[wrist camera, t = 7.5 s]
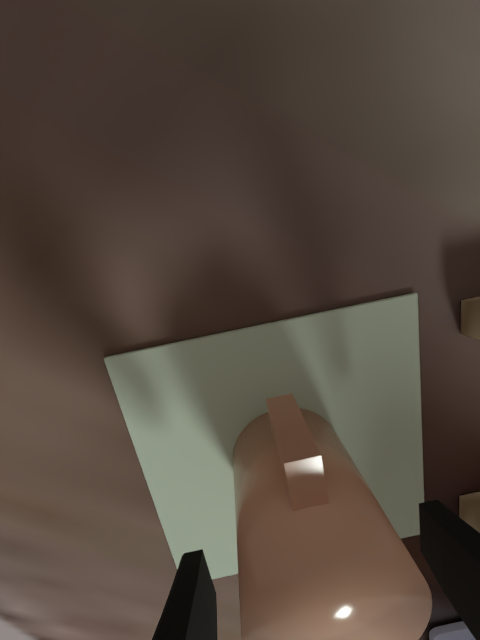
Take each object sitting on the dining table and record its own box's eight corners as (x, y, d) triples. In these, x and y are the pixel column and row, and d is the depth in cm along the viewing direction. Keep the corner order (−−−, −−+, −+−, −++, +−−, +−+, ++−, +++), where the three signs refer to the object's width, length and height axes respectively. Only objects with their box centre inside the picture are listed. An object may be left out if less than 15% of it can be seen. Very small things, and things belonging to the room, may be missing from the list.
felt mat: (422, 529, 15) (425, 533, 15) (183, 581, 15) (182, 585, 15) (414, 292, 12) (417, 293, 11) (105, 356, 12) (103, 358, 11)
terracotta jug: (344, 486, 14) (433, 662, 8) (244, 508, 14) (260, 701, 8) (328, 364, 12) (428, 475, 6) (213, 389, 12) (206, 523, 6)
